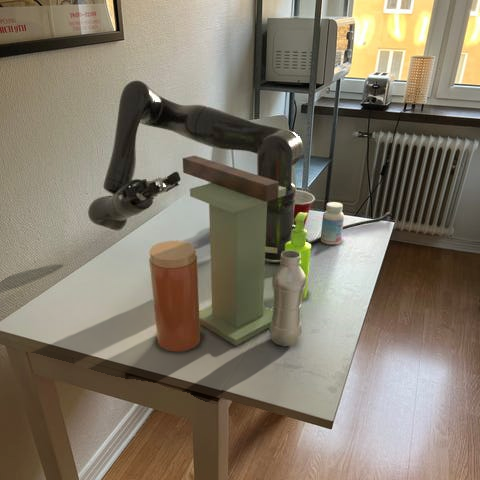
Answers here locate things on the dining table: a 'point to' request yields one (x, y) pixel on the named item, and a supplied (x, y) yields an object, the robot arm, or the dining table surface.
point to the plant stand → (236, 263)
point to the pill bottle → (332, 223)
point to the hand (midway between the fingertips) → (162, 179)
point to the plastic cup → (302, 204)
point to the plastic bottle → (287, 299)
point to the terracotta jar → (175, 294)
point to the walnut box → (231, 178)
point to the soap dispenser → (300, 246)
